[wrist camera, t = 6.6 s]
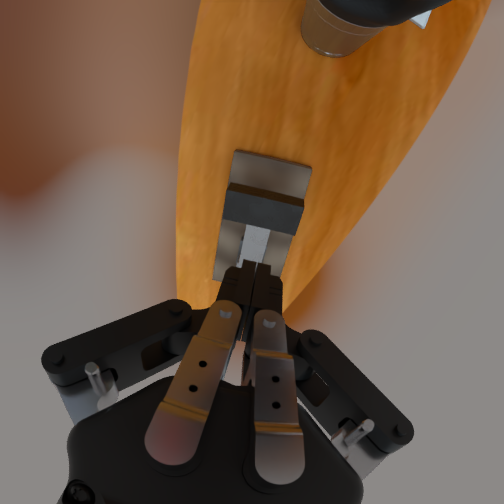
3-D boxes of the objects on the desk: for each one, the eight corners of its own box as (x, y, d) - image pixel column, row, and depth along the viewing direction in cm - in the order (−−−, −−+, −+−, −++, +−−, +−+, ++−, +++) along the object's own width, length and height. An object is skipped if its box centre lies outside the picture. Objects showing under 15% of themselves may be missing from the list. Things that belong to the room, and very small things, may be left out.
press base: (236, 149, 41) (221, 162, 31) (310, 166, 41) (320, 185, 31) (214, 273, 53) (200, 311, 43) (275, 287, 53) (272, 327, 43)
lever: (233, 176, 33) (226, 189, 30) (303, 193, 33) (304, 208, 30) (216, 290, 47) (211, 307, 44) (267, 301, 47) (264, 319, 44)
